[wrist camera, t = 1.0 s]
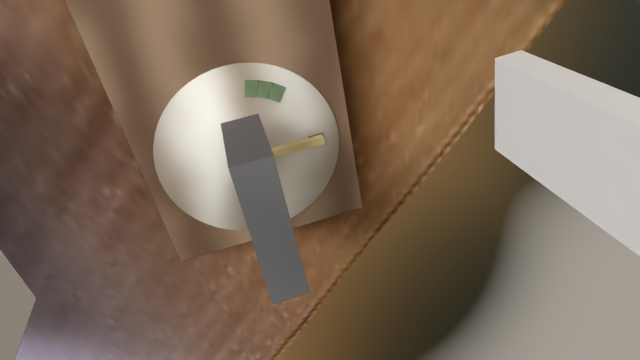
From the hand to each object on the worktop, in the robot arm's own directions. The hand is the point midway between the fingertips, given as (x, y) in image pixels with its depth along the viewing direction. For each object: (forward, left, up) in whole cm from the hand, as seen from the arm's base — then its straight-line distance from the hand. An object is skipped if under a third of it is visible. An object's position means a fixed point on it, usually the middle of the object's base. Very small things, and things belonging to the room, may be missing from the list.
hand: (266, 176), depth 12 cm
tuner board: (0, -7, -26) cm, 27 cm away
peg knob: (+2, -10, -22) cm, 24 cm away
